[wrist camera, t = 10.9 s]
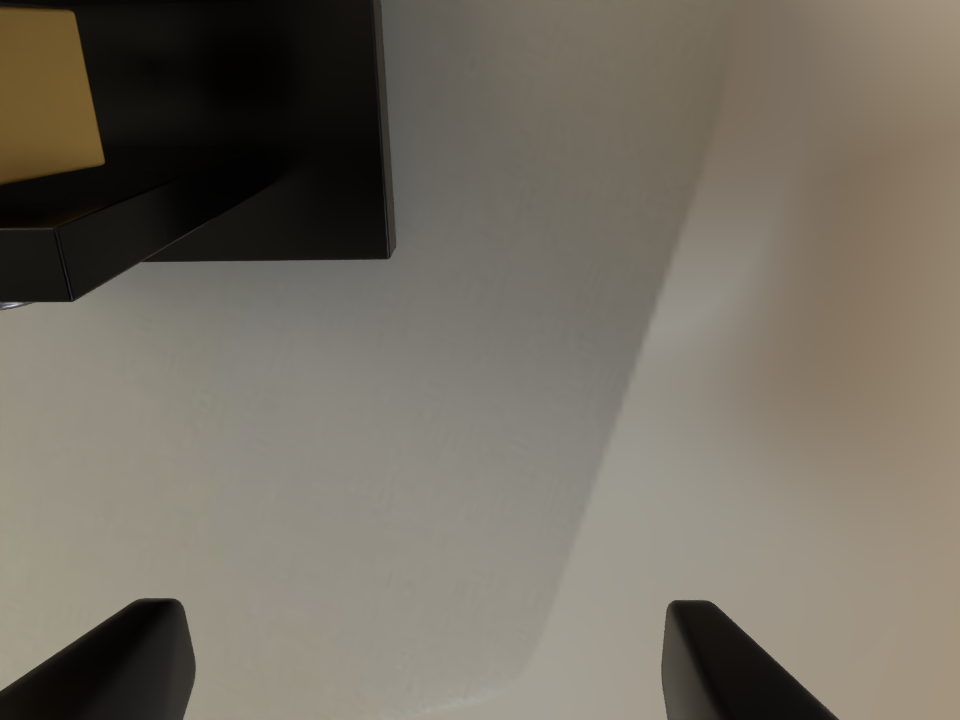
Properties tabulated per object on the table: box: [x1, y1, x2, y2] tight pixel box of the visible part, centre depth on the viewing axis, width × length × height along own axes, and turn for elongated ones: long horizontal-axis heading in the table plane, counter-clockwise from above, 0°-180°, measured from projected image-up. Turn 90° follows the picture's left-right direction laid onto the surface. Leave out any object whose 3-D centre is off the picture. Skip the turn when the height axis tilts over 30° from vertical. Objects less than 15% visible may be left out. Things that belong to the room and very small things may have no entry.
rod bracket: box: [0, 0, 396, 310], centre depth 13 cm, size 10×8×10 cm
